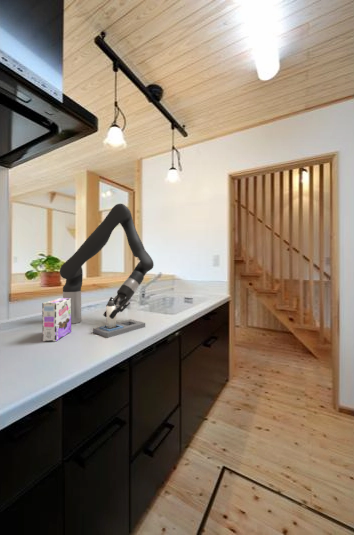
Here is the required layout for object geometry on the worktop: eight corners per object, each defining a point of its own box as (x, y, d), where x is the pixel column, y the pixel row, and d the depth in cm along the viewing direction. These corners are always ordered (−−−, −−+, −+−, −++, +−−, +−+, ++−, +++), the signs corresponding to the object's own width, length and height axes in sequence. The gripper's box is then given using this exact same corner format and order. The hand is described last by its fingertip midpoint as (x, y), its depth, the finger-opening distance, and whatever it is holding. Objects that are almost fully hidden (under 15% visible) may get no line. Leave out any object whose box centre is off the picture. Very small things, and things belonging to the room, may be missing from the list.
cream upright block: (104, 329, 107) (104, 301, 107) (112, 327, 111) (112, 300, 110) (110, 330, 105) (109, 302, 104) (118, 328, 108) (117, 301, 108)
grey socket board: (93, 332, 107) (93, 327, 107) (130, 322, 124) (130, 318, 124) (107, 337, 99) (107, 332, 99) (145, 326, 116) (145, 321, 116)
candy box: (55, 341, 94) (55, 302, 94) (42, 341, 95) (41, 302, 94) (72, 331, 108) (71, 297, 108) (59, 331, 108) (59, 297, 108)
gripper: (115, 283, 118) (94, 310, 108) (133, 284, 108) (111, 314, 99) (124, 292, 122) (104, 319, 113) (141, 294, 113) (121, 324, 103)
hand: (107, 316), depth 106 cm, fingers closed on cream upright block, 4 cm apart
